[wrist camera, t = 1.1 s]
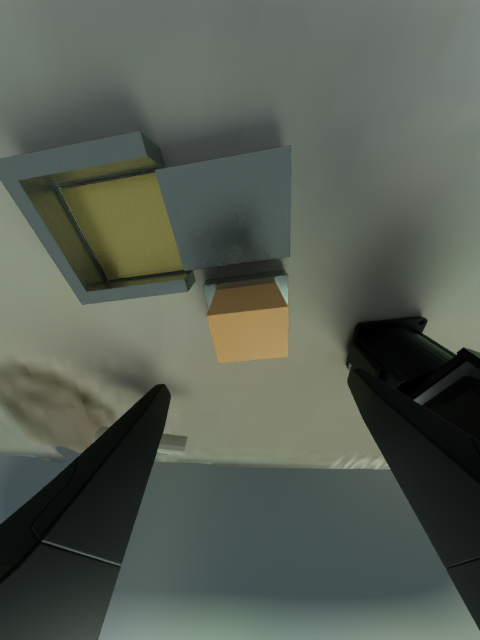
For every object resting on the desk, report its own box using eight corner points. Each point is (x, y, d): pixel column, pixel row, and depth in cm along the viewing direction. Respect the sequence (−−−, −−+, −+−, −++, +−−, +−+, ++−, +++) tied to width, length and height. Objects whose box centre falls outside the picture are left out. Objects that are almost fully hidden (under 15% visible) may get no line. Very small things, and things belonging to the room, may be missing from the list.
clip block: (275, 282, 14) (288, 306, 10) (276, 323, 16) (287, 356, 12) (215, 289, 15) (206, 315, 11) (224, 329, 17) (218, 363, 13)
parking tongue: (284, 270, 15) (288, 274, 14) (284, 319, 18) (287, 327, 16) (205, 280, 16) (202, 285, 14) (216, 326, 18) (214, 334, 17)
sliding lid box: (283, 123, 11) (294, 99, 8) (284, 270, 15) (291, 278, 13) (34, 171, 12) (-12, 161, 10) (103, 293, 16) (82, 304, 14)
